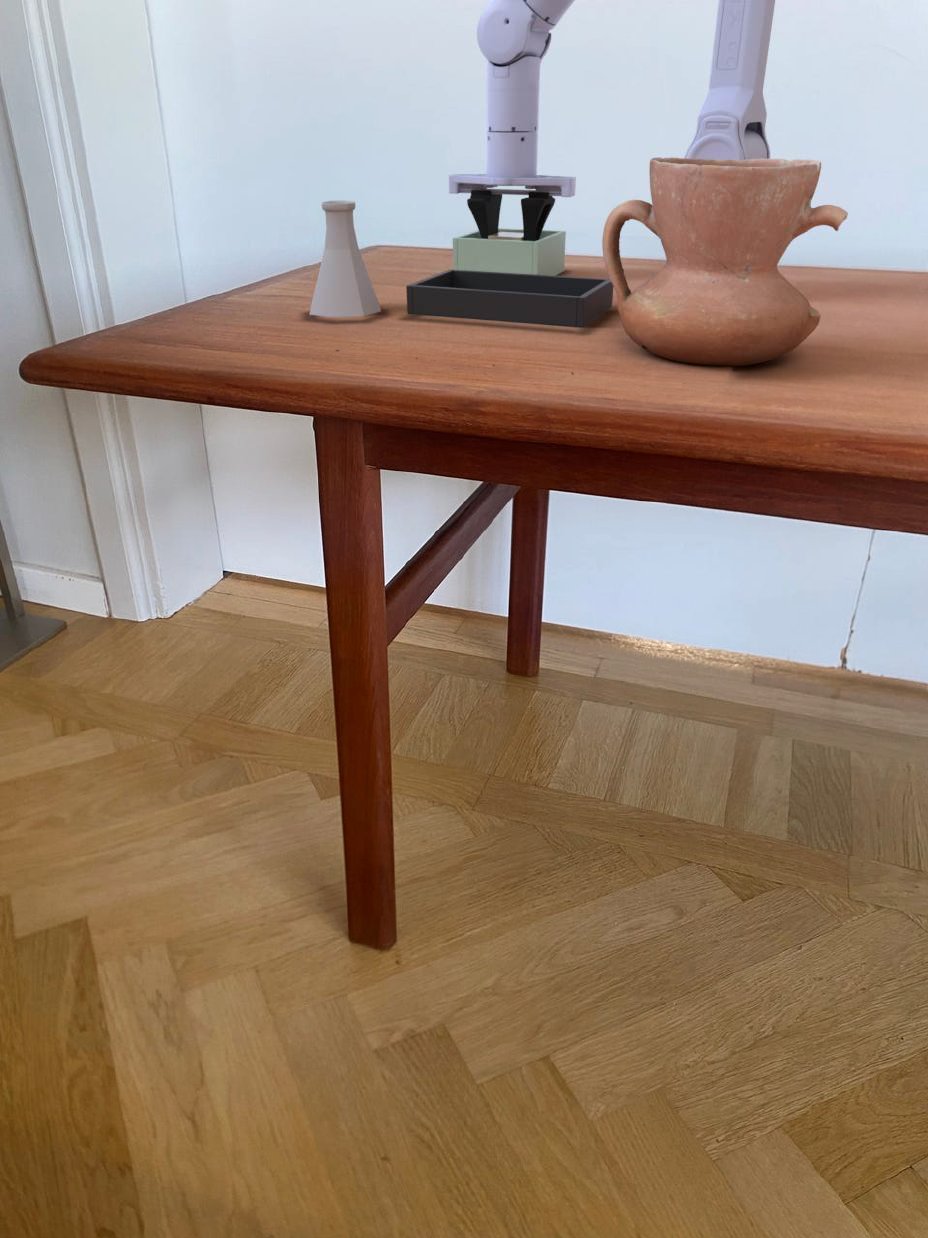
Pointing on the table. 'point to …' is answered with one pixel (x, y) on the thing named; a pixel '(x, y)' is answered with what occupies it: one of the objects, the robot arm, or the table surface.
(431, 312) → the pan
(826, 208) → the ceramic jug
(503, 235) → the block
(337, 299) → the flask
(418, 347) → the table surface
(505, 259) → the bin
